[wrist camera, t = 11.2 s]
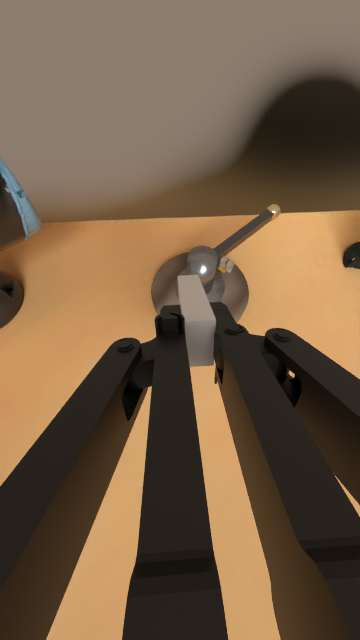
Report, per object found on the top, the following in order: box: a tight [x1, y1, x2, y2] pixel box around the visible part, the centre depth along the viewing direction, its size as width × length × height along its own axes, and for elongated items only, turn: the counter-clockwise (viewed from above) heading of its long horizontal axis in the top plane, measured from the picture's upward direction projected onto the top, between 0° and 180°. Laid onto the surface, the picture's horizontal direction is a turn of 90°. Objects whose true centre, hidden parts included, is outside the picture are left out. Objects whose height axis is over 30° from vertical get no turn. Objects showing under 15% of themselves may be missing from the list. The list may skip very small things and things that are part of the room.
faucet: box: [175, 204, 280, 302], centre depth 39 cm, size 25×10×9 cm, turn 131°
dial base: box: [151, 252, 249, 323], centre depth 42 cm, size 20×20×4 cm
